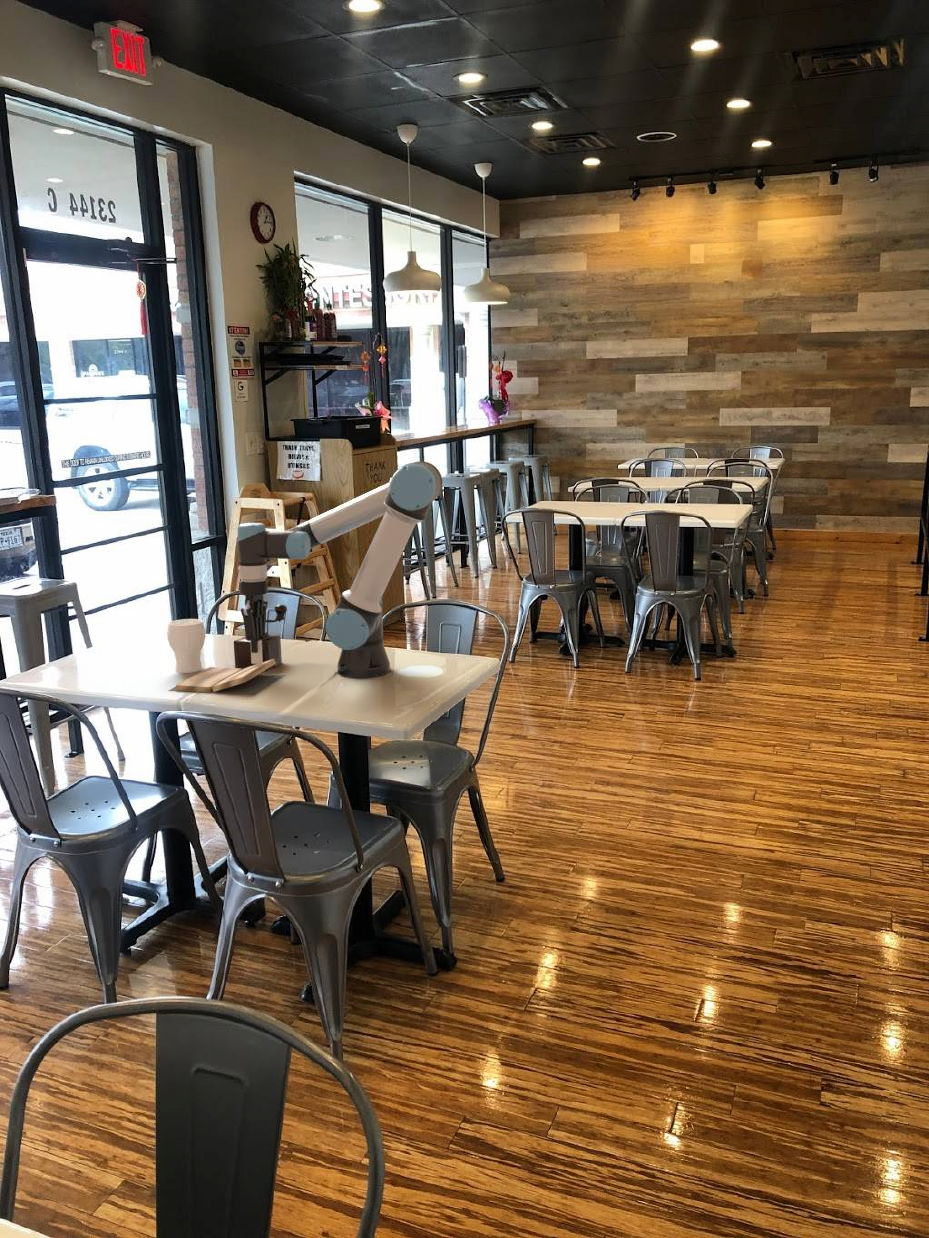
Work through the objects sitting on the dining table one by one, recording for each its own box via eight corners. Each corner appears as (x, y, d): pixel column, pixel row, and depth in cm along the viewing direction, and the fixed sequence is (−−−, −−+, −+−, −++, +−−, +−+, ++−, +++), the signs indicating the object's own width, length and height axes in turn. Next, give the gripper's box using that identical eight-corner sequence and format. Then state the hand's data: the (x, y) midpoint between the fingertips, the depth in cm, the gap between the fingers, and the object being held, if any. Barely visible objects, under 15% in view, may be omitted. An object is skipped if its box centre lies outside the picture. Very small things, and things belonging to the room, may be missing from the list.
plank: (275, 663, 296) (274, 658, 296) (245, 681, 277) (243, 676, 276) (245, 673, 298) (243, 668, 298) (213, 692, 279) (211, 686, 279)
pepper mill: (268, 674, 301) (265, 613, 298) (234, 672, 304) (230, 611, 301) (292, 662, 316) (290, 603, 312) (259, 659, 319) (256, 601, 315)
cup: (198, 678, 299) (194, 626, 296) (163, 676, 301) (159, 625, 298) (214, 668, 309) (210, 618, 306) (180, 667, 311) (177, 618, 308)
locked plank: (242, 673, 299) (242, 668, 298) (210, 692, 280) (210, 686, 279) (210, 672, 301) (209, 667, 301) (176, 690, 282) (175, 685, 282)
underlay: (285, 678, 297) (285, 675, 296) (254, 698, 276) (254, 695, 276) (204, 674, 302) (203, 671, 302) (168, 694, 282) (167, 690, 282)
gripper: (250, 575, 295) (254, 657, 300) (230, 583, 282) (234, 668, 287) (275, 576, 293) (278, 658, 298) (256, 584, 281) (260, 669, 285)
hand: (257, 663), depth 292 cm, fingers closed
